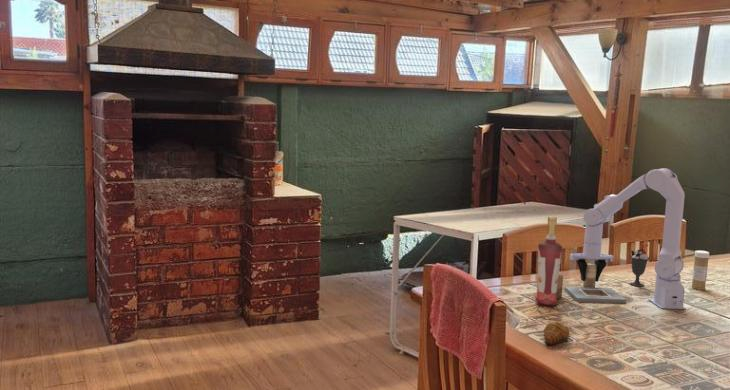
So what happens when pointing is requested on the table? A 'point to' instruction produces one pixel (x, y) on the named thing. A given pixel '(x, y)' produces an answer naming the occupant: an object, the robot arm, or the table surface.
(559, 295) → the fat peg
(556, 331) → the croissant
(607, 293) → the socket board
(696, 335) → the table surface
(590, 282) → the slim peg
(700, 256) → the sprinkles bottle
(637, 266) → the sundae
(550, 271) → the liquor
